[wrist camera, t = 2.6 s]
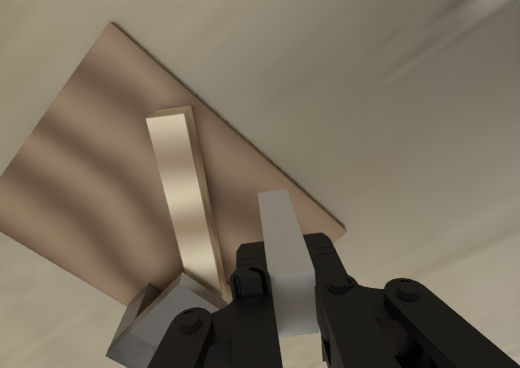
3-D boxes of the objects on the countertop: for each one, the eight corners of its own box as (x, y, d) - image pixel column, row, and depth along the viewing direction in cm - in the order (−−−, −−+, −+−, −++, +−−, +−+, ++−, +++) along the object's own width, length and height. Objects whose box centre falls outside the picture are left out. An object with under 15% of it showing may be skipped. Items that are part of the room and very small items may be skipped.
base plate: (113, 22, 28) (109, 21, 27) (344, 226, 37) (346, 231, 36) (-20, 210, 34) (-27, 215, 33) (206, 346, 42) (206, 353, 42)
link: (240, 312, 39) (240, 340, 35) (199, 317, 39) (194, 346, 35) (202, 103, 29) (196, 112, 25) (146, 111, 29) (132, 120, 25)
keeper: (190, 239, 35) (179, 283, 29) (229, 267, 37) (226, 314, 30) (128, 303, 38) (105, 355, 31) (167, 326, 40) (152, 380, 33)
